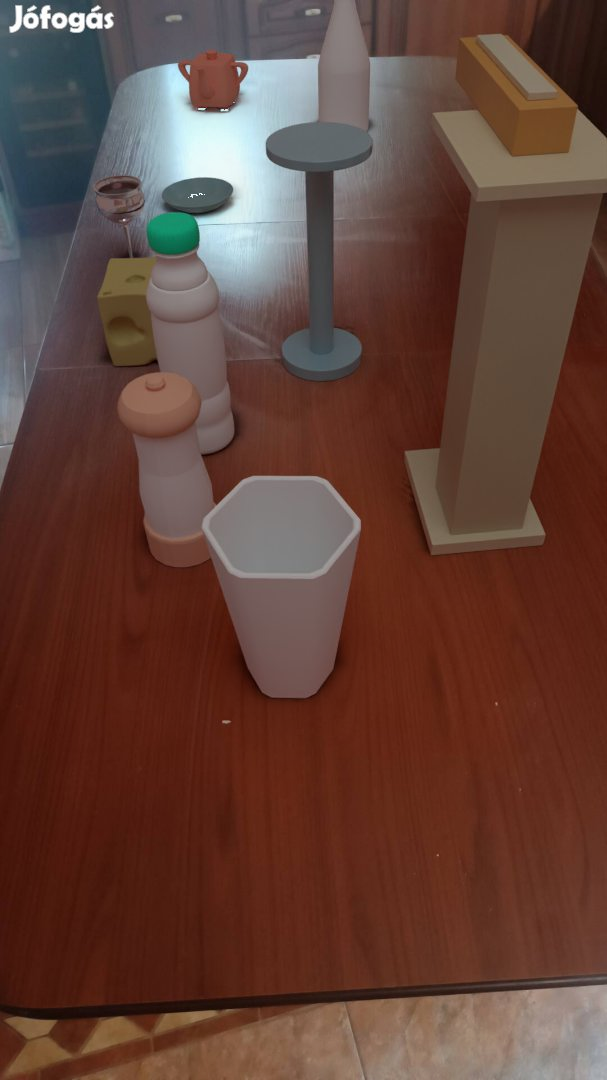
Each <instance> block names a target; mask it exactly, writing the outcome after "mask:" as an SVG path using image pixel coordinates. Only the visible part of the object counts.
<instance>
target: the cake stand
mask: <svg viewBox="0 0 607 1080" xmlns="http://www.w3.org/2000/svg"><path fill="white" fill-rule="evenodd" d="M265 140H266V141H265V155H266V157H267V159H268V160H269V161H270V162H271V163H273V164H275V165H276V166H278V167H282V168H284V169H288V170H292V171H298V172H305V173H304V178H305V179H304V182H305V184H304V185H305V215H306V216H305V218H306V220H305V221H306V222H305V224H306V225H305V226H306V254H307V255H306V257H307V264H306V265H307V292H308V293H307V299H308V304H307V305H308V327H307V328H304V329H300V330H297V331H296V332H293V333H292V334H290V335H289V336H288V337H286V339H285V340H284V341H283V342H282V345H281V362H282V365H283V367H284V368H285V369H286V371H287V372H289V373H290V374H291V375H293V376H295V377H296V378H300V379H302V380H307V381H312V382H328V381H335V380H339V379H342V378H345V377H347V376H349V375H351V374H352V373H354V372H355V371H357V369H358V368H360V365H361V363H362V357H363V354H362V353H363V345H362V343H361V340H359V338H358V337H356V335H354V334H353V333H352V332H350V331H348V330H345V329H342V328H338V327H335V325H334V324H335V322H334V321H335V318H334V317H335V316H334V315H335V311H334V310H335V308H334V307H335V294H334V293H335V290H334V289H335V287H334V286H335V281H334V279H335V275H334V271H335V270H334V269H335V262H334V261H335V258H334V257H335V256H334V255H335V254H334V253H335V250H334V249H335V246H334V245H335V243H334V242H335V240H334V238H335V233H334V232H335V231H334V230H335V228H334V227H335V223H334V222H335V217H334V215H335V214H334V213H335V209H334V207H335V205H334V204H335V202H334V201H335V199H334V198H335V197H334V196H335V195H334V194H335V192H334V190H335V189H334V188H335V187H334V186H335V185H334V184H335V183H334V182H335V177H334V176H335V173H334V172H336V171H341V170H346V169H349V168H352V167H355V166H358V165H360V164H362V163H364V162H365V161H367V160H368V159H370V157H371V155H372V153H373V147H374V146H373V145H374V140H373V137H372V136H371V134H370V133H369V132H368V131H367V132H366V131H365V130H363V129H361V128H358V127H355V126H352V125H348V124H342V123H334V122H319V121H311V122H310V121H309V122H302V123H297V124H292V125H287V126H285V127H282V128H280V129H277V130H275V131H273V132H272V133H271V134H270V135H268V136H267V138H266V139H265Z"/></svg>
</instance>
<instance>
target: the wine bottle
mask: <svg viewBox="0 0 607 1080" xmlns="http://www.w3.org/2000/svg"><path fill="white" fill-rule="evenodd" d="M317 81H318V82H317V93H318V95H317V96H318V97H317V98H318V99H317V100H318V101H317V102H318V104H317V105H318V107H317V108H318V111H317V112H318V122H334V123H342V124H348V125H352V126H355V127H358V128H361V129H363V130H365V131H366V132H368V130H369V125H370V124H369V122H370V93H371V92H370V87H371V60H370V55H369V51H368V47H367V43H366V39H365V36H364V32H363V27H362V25H361V21H360V16H359V13H358V10H357V4H356V0H333V6H332V10H331V15H330V18H329V22H328V26H327V29H326V32H325V36H324V39H323V43H322V47H321V51H320V55H319V58H318V63H317Z"/></svg>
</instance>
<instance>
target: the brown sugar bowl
mask: <svg viewBox="0 0 607 1080" xmlns="http://www.w3.org/2000/svg"><path fill="white" fill-rule="evenodd" d="M187 66H189V71H188V70H187V68H186V67H187ZM177 68H178V71H179V72H180V74H181V75H182V77H183V78H184V79H185V81H186V82H187V83H188V94H189V99H190V102H191V104H192V106H194V107H197V108H206V107H207V108H220V109H224V110H225V109H228V108H229V109H230V107H231V105H233V104H232V103H233V102H235V101H237V99H238V97H239V94H240V89H241V84H242V82H243V81H244V80H245V78H246V77H247V75H248V73H249V65H248V64H247V63H246V62H243V61H236V59H235V55H234V54H233V53H228V52H218V51H217V49H208V50H206V51H205V52H201V53H199V54H197V56H194V58H193V59H192V60H190V59H189V60H188V59H182V60H179V62H178V63H177ZM238 68H239V69H240V73H239V70H238ZM220 109H219V110H220Z"/></svg>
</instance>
